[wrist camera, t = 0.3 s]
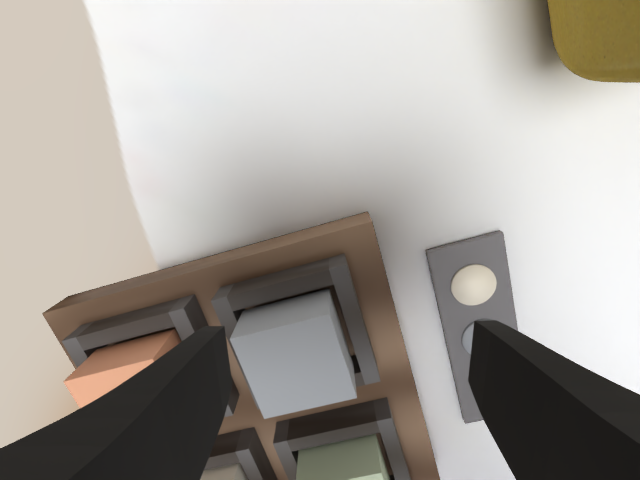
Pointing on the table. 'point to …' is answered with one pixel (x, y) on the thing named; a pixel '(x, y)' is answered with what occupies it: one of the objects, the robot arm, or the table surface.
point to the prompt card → (470, 301)
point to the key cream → (225, 473)
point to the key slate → (295, 354)
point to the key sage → (343, 461)
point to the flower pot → (598, 38)
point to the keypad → (262, 289)
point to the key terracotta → (117, 365)
